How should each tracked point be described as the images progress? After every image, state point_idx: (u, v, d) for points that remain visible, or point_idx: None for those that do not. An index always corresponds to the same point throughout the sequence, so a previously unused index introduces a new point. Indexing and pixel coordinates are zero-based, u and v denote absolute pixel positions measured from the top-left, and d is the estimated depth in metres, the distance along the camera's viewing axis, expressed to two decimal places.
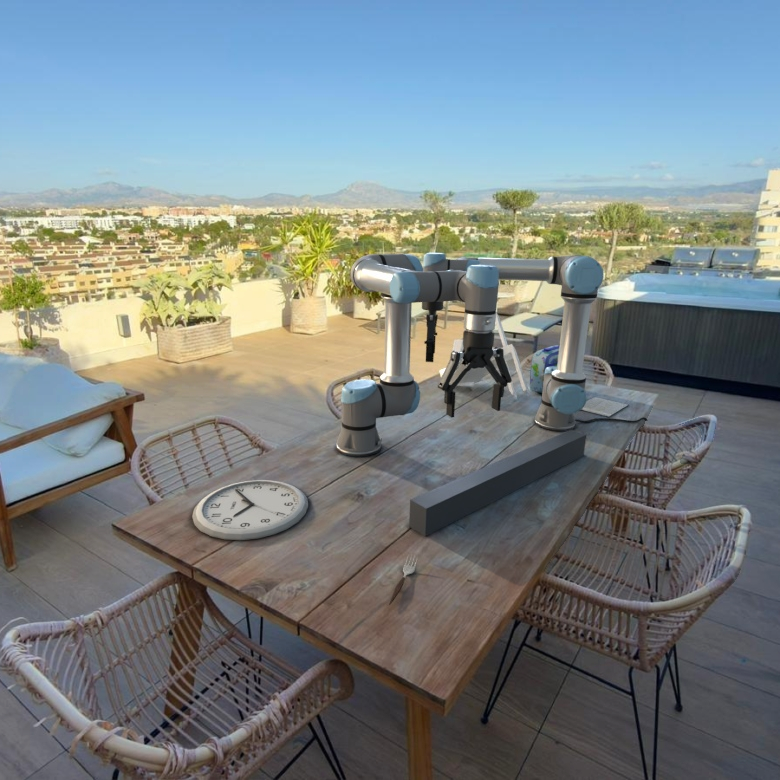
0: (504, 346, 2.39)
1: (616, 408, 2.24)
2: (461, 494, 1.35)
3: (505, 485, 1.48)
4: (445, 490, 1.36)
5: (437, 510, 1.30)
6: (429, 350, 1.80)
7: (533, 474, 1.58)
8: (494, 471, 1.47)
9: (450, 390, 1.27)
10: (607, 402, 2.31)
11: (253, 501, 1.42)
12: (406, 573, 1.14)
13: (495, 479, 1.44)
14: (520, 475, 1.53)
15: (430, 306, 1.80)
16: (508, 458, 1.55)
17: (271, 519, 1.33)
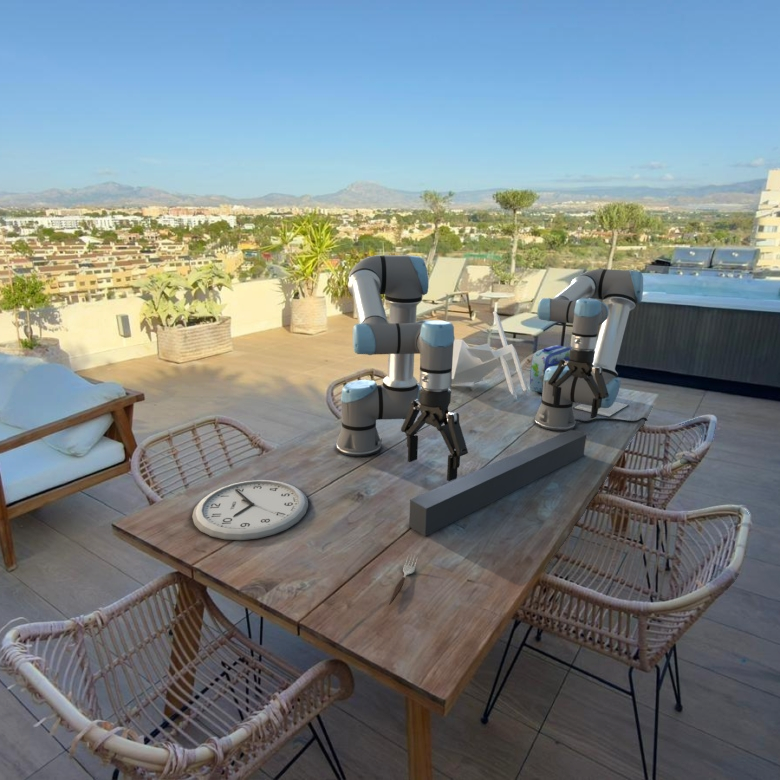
0: (504, 346, 2.39)
1: (616, 408, 2.24)
2: (461, 494, 1.35)
3: (505, 485, 1.48)
4: (445, 490, 1.36)
5: (437, 510, 1.30)
6: (599, 405, 1.64)
7: (533, 474, 1.58)
8: (494, 471, 1.47)
9: (406, 434, 1.32)
10: None
11: (253, 501, 1.42)
12: (406, 573, 1.14)
13: (495, 479, 1.44)
14: (520, 475, 1.53)
15: (591, 358, 1.63)
16: (508, 458, 1.55)
17: (271, 519, 1.33)
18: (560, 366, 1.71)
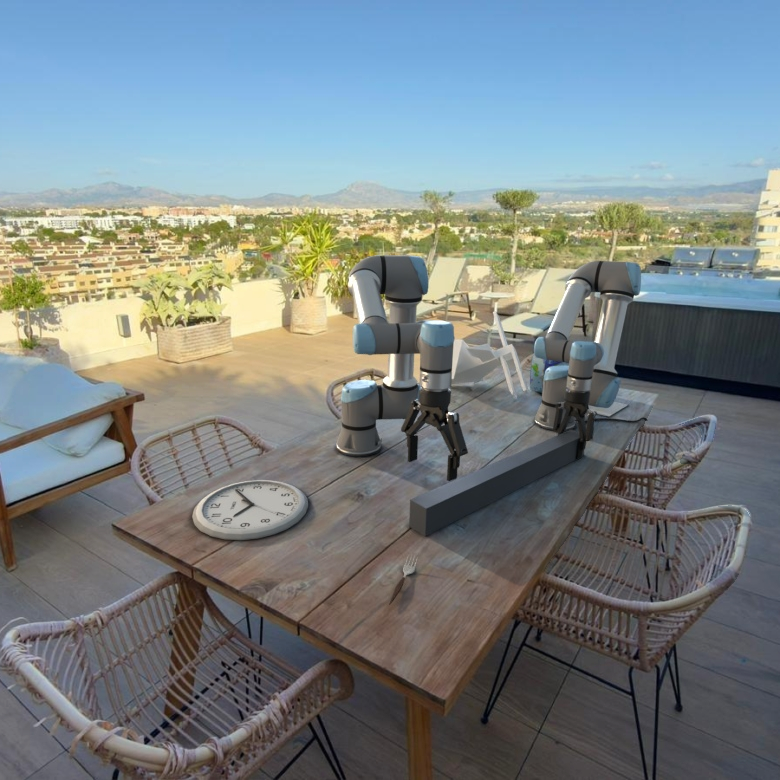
0: (504, 346, 2.39)
1: (616, 408, 2.24)
2: (461, 494, 1.35)
3: (505, 485, 1.48)
4: (445, 490, 1.36)
5: (437, 510, 1.30)
6: (584, 447, 1.72)
7: (533, 474, 1.58)
8: (494, 471, 1.47)
9: (406, 434, 1.32)
10: None
11: (253, 501, 1.42)
12: (406, 573, 1.14)
13: (495, 479, 1.44)
14: (520, 475, 1.53)
15: (587, 399, 1.67)
16: (508, 458, 1.55)
17: (271, 519, 1.33)
18: (558, 409, 1.75)
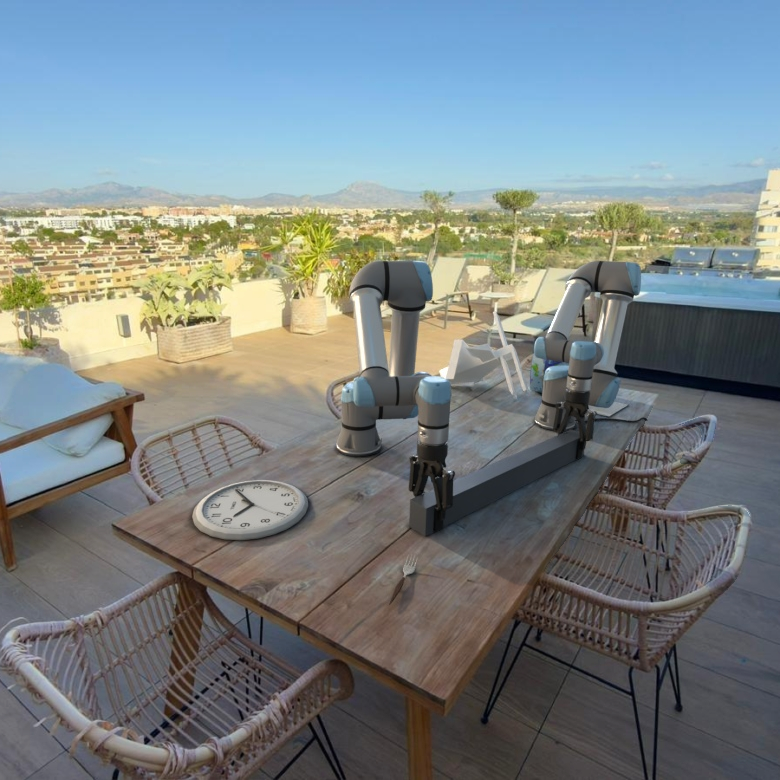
0: (504, 346, 2.39)
1: (616, 408, 2.24)
2: (461, 494, 1.35)
3: (505, 485, 1.48)
4: None
5: None
6: (584, 447, 1.72)
7: (533, 474, 1.58)
8: (494, 471, 1.47)
9: (414, 494, 1.34)
10: None
11: (253, 501, 1.42)
12: (406, 573, 1.14)
13: (495, 479, 1.44)
14: (520, 475, 1.53)
15: (587, 399, 1.67)
16: (508, 458, 1.55)
17: (271, 519, 1.33)
18: (558, 409, 1.75)
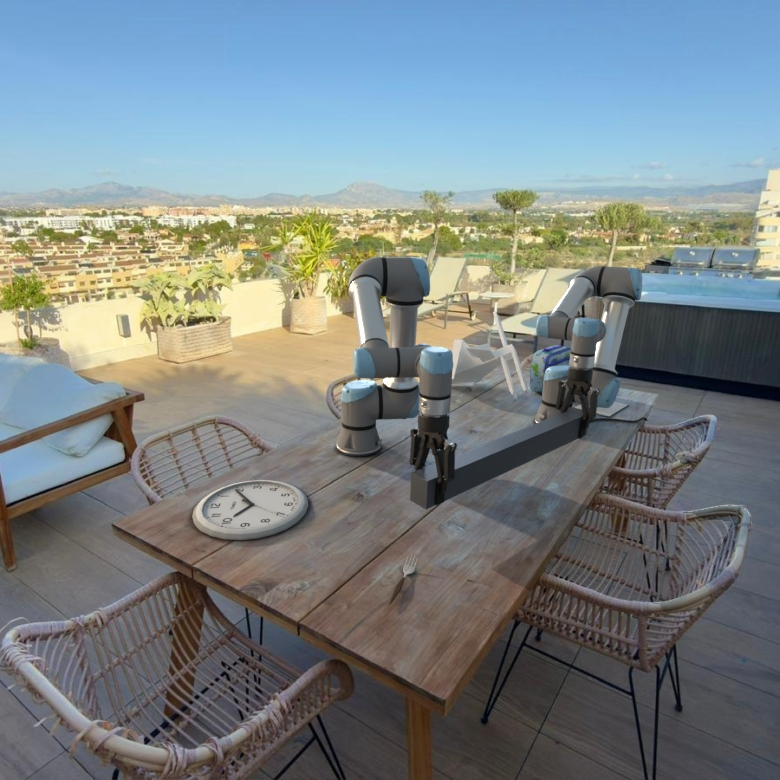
0: (504, 346, 2.39)
1: (616, 408, 2.24)
2: (463, 468, 1.34)
3: (507, 461, 1.47)
4: None
5: None
6: (587, 425, 1.70)
7: (536, 451, 1.56)
8: (496, 447, 1.45)
9: (415, 468, 1.32)
10: None
11: (253, 501, 1.42)
12: (406, 573, 1.14)
13: (497, 455, 1.42)
14: (522, 452, 1.51)
15: (590, 377, 1.65)
16: (510, 435, 1.54)
17: (271, 519, 1.33)
18: (560, 387, 1.73)
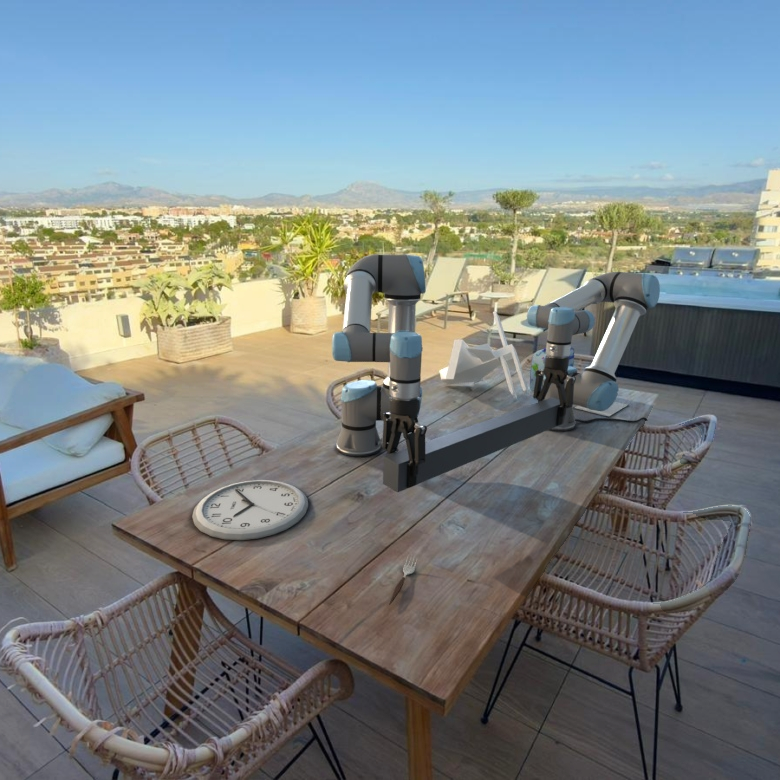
0: (504, 346, 2.39)
1: (616, 408, 2.24)
2: (435, 452, 1.36)
3: (481, 447, 1.49)
4: None
5: None
6: (564, 413, 1.72)
7: (511, 438, 1.58)
8: (470, 432, 1.48)
9: (387, 452, 1.35)
10: None
11: (253, 501, 1.42)
12: (406, 573, 1.14)
13: (470, 440, 1.45)
14: (497, 438, 1.53)
15: (566, 365, 1.68)
16: (485, 421, 1.56)
17: (271, 519, 1.33)
18: (538, 376, 1.75)
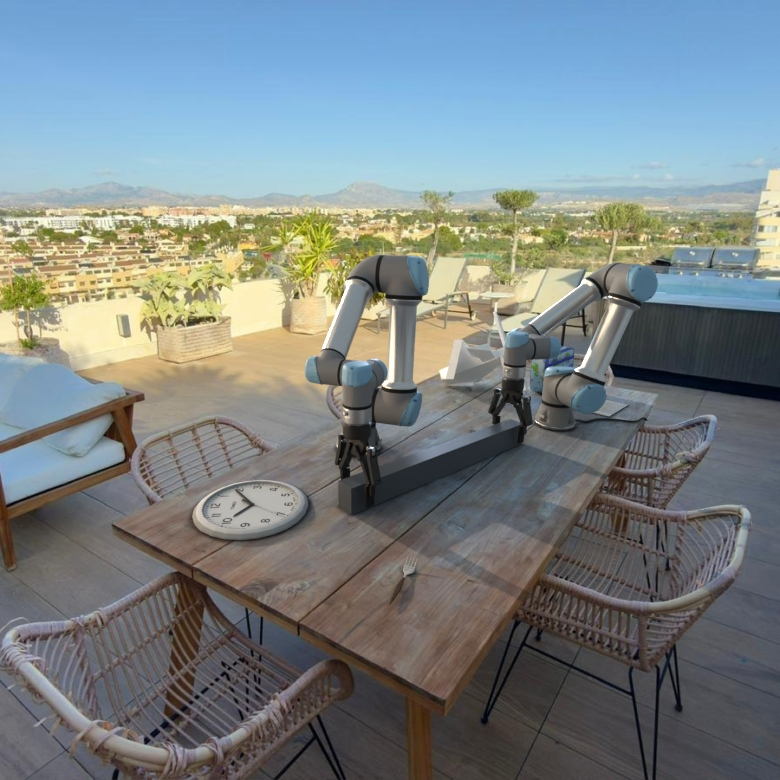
0: (504, 346, 2.39)
1: (616, 408, 2.24)
2: (388, 476, 1.44)
3: (435, 470, 1.57)
4: None
5: (363, 491, 1.39)
6: (525, 432, 1.78)
7: (466, 459, 1.66)
8: (425, 456, 1.56)
9: (339, 467, 1.44)
10: (607, 402, 2.31)
11: (253, 501, 1.42)
12: (406, 573, 1.14)
13: (424, 463, 1.53)
14: (452, 460, 1.61)
15: (521, 387, 1.76)
16: (442, 444, 1.64)
17: (271, 519, 1.33)
18: (495, 394, 1.84)
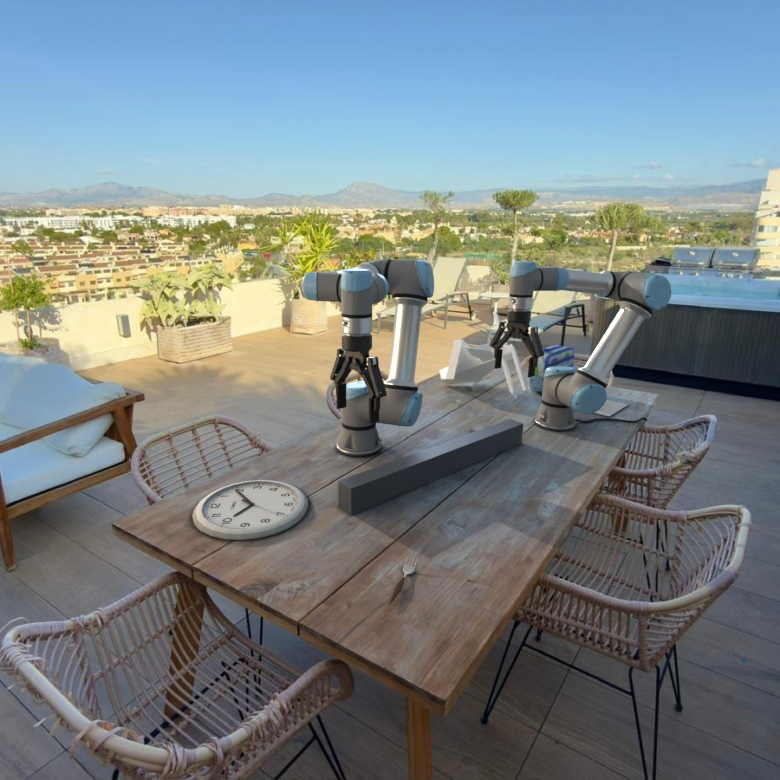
0: (504, 346, 2.39)
1: (616, 408, 2.24)
2: (388, 476, 1.44)
3: (435, 470, 1.57)
4: (374, 473, 1.45)
5: (363, 491, 1.39)
6: (536, 364, 1.70)
7: (466, 459, 1.66)
8: (425, 456, 1.56)
9: (334, 382, 1.38)
10: (607, 402, 2.31)
11: (253, 501, 1.42)
12: (406, 573, 1.14)
13: (424, 463, 1.53)
14: (452, 460, 1.61)
15: (527, 318, 1.69)
16: (442, 444, 1.64)
17: (271, 519, 1.33)
18: (500, 328, 1.77)
